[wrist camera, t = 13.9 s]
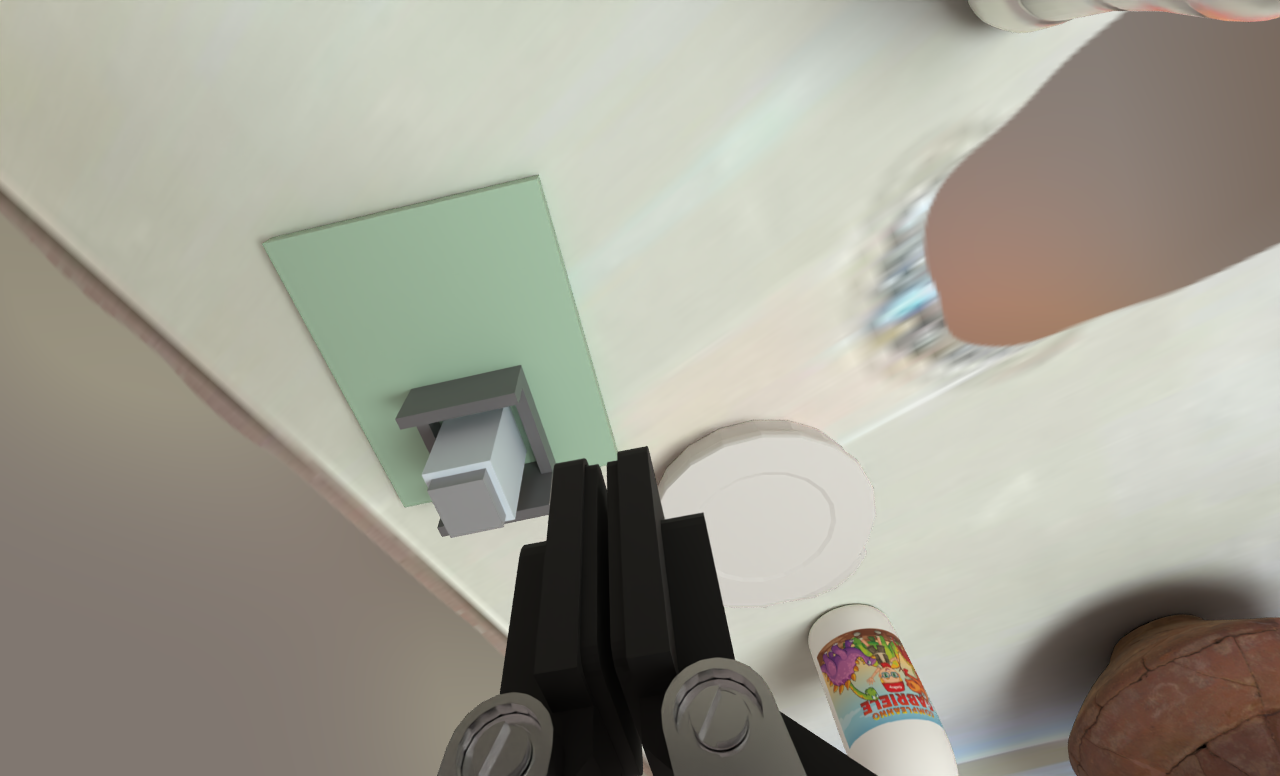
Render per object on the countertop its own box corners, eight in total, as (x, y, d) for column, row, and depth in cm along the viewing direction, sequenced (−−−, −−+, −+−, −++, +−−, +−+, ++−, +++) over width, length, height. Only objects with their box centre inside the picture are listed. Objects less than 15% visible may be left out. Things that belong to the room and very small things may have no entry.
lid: (753, 623, 55) (761, 652, 52) (600, 504, 47) (600, 531, 44) (918, 521, 50) (936, 547, 47) (779, 368, 42) (791, 389, 39)
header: (410, 388, 39) (388, 432, 35) (521, 364, 39) (511, 405, 34) (457, 487, 43) (442, 536, 39) (557, 466, 43) (552, 513, 39)
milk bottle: (889, 647, 58) (1015, 908, 40) (809, 663, 58) (900, 928, 41) (887, 593, 54) (1026, 856, 36) (802, 611, 54) (898, 878, 37)
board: (272, 237, 35) (262, 243, 34) (538, 175, 34) (536, 179, 33) (409, 496, 45) (404, 507, 44) (618, 452, 44) (618, 462, 43)
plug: (448, 409, 40) (416, 486, 33) (506, 396, 40) (487, 471, 33) (473, 467, 42) (450, 550, 36) (528, 456, 42) (515, 537, 35)
